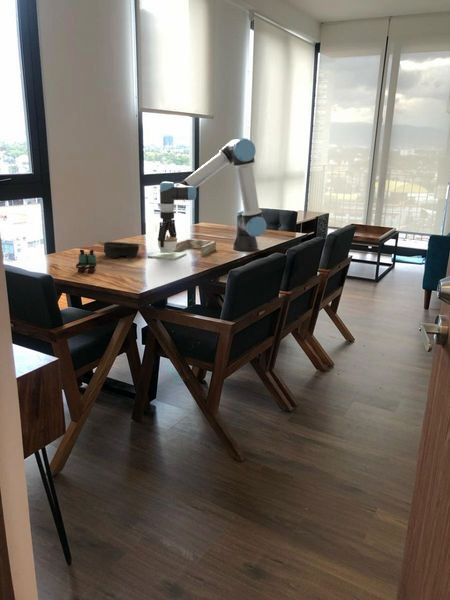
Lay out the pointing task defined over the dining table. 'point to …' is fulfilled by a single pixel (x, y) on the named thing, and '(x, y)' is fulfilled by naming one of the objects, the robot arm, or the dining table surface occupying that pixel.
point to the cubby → (196, 245)
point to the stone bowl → (120, 249)
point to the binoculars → (86, 262)
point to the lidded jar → (169, 244)
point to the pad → (167, 255)
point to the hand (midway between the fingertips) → (167, 251)
